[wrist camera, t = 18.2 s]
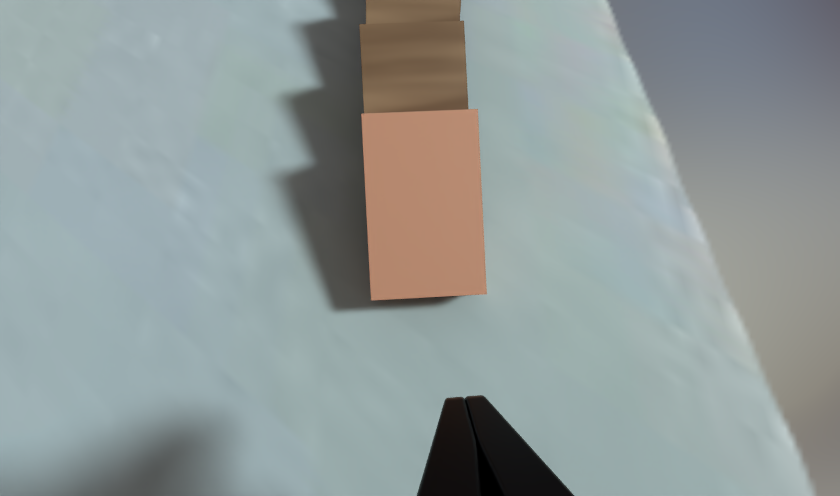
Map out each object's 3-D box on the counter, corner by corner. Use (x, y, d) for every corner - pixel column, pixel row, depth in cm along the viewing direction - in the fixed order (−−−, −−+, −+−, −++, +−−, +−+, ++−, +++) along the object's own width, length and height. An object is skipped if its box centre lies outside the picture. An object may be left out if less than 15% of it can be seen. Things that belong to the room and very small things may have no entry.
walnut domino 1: (460, 98, 21) (459, -50, 21) (366, 98, 21) (365, -50, 21) (456, 112, 23) (455, -23, 23) (370, 112, 23) (369, -24, 23)
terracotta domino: (486, 293, 17) (477, 109, 17) (371, 300, 17) (361, 113, 17) (478, 288, 19) (470, 123, 19) (374, 294, 19) (365, 127, 19)
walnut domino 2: (472, 187, 19) (463, 20, 19) (368, 192, 19) (359, 24, 19) (465, 192, 21) (458, 42, 21) (371, 197, 21) (363, 45, 21)
